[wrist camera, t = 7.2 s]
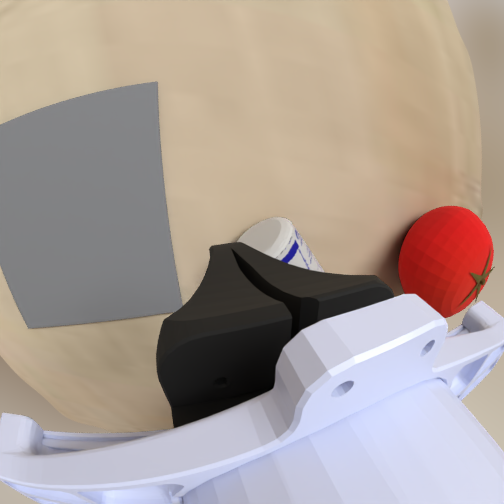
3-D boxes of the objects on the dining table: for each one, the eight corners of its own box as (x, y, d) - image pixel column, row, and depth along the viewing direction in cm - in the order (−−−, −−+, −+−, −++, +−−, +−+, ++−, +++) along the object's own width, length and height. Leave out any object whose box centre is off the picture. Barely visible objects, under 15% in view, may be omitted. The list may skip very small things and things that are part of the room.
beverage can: (277, 262, 17) (353, 358, 24) (297, 204, 20) (361, 311, 28) (214, 273, 20) (304, 358, 28) (240, 222, 24) (316, 315, 31)
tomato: (452, 233, 32) (509, 267, 23) (398, 301, 34) (451, 349, 24) (431, 173, 26) (507, 203, 17) (364, 254, 28) (436, 312, 19)
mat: (183, 307, 24) (183, 310, 24) (29, 325, 20) (28, 328, 20) (157, 82, 16) (157, 81, 16) (-24, 137, 12) (-27, 138, 12)
